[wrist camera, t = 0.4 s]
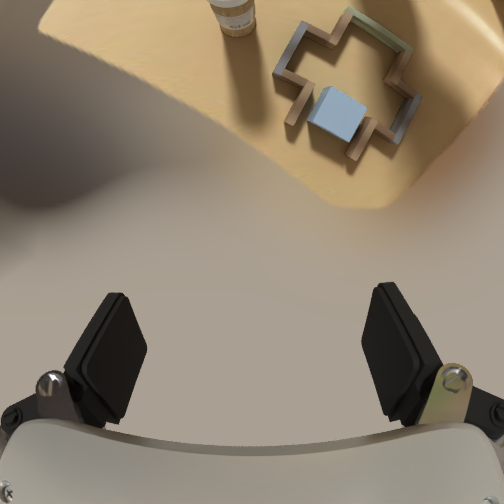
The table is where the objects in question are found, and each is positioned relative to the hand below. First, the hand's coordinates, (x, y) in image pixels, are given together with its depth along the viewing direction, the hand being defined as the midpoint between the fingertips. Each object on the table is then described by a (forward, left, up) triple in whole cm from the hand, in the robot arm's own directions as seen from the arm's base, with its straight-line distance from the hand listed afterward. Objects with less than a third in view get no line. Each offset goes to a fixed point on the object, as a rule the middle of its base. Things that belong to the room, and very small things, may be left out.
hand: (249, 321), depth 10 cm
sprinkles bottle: (-17, -10, -29) cm, 35 cm away
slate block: (-11, +6, -29) cm, 31 cm away
